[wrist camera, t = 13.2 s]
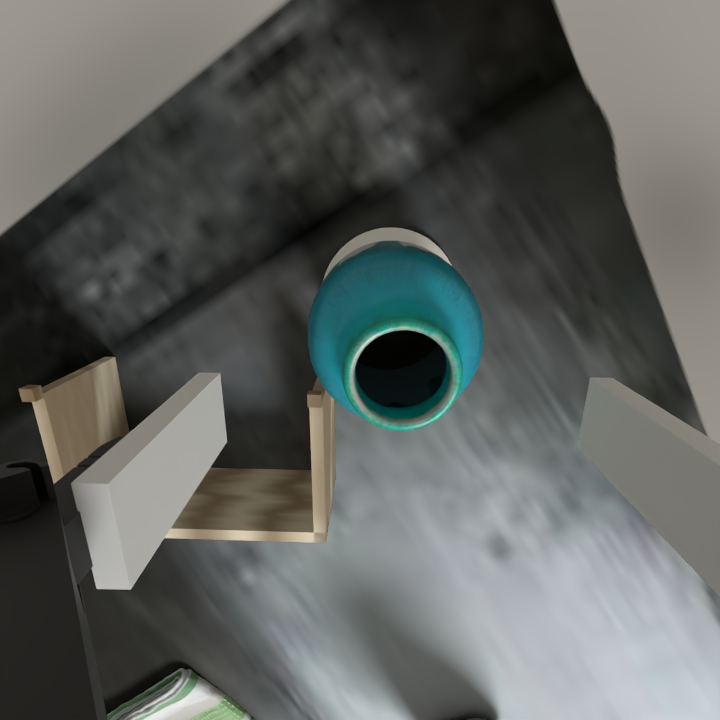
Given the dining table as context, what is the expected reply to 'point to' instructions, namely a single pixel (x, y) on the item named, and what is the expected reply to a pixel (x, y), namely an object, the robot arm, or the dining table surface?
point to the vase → (395, 334)
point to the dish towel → (181, 701)
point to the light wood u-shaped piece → (220, 485)
